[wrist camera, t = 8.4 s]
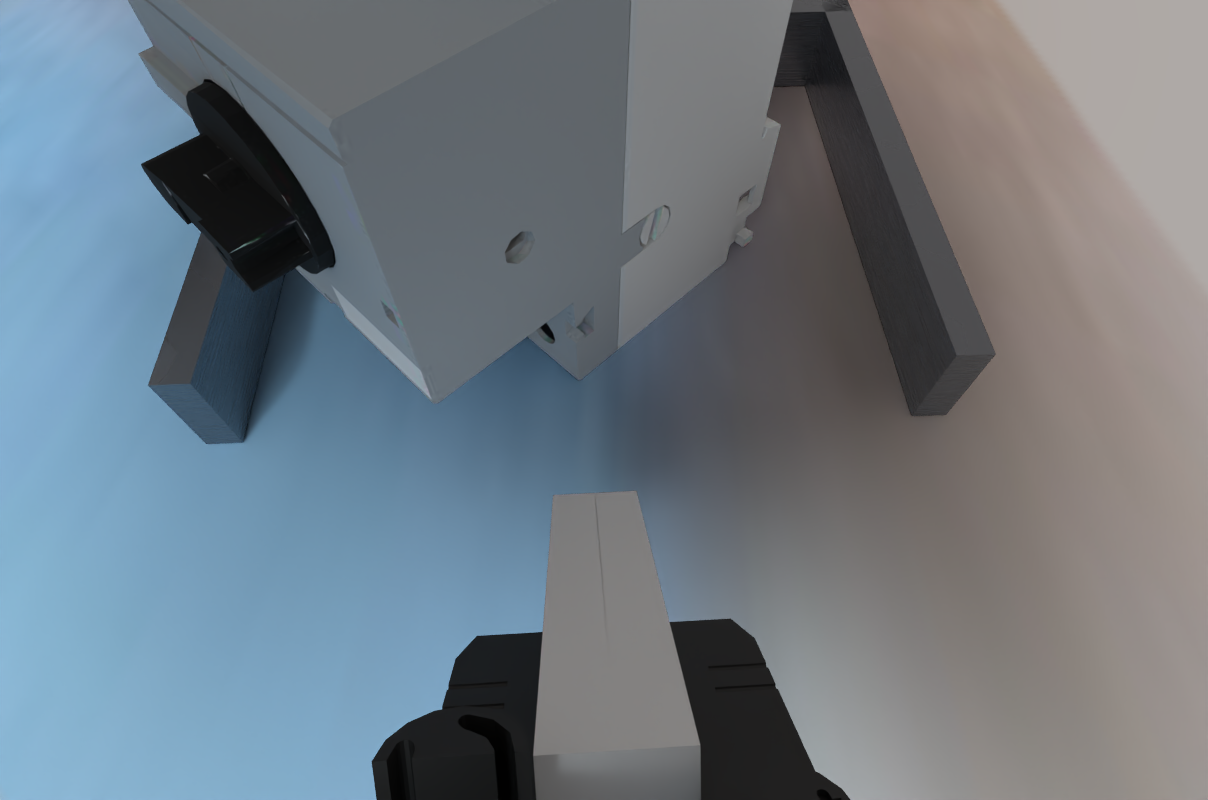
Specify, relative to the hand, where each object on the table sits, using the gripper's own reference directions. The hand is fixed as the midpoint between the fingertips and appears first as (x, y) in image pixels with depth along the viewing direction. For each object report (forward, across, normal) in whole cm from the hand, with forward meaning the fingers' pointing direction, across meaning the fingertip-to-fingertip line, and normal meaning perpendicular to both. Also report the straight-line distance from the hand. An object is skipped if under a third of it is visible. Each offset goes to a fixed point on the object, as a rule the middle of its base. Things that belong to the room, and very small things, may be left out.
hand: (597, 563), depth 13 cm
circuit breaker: (+11, -2, +4) cm, 12 cm away
